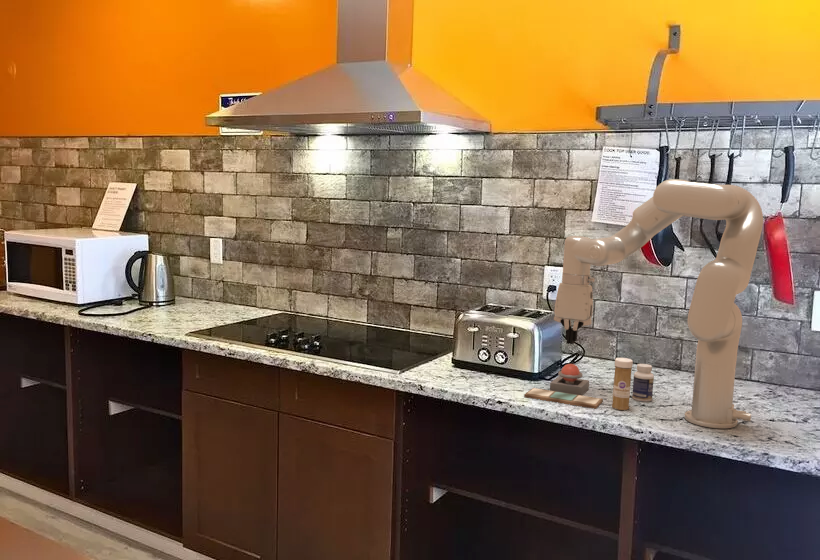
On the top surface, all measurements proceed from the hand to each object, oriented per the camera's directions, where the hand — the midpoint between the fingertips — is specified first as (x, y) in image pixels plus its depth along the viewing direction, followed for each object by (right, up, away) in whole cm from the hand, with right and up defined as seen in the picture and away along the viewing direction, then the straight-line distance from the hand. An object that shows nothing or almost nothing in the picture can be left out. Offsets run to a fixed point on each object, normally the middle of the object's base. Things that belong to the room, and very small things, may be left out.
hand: (570, 342), depth 217 cm
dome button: (0, -12, +1) cm, 12 cm away
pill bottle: (+19, -16, -5) cm, 25 cm away
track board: (-4, -15, -8) cm, 17 cm away
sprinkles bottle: (+10, -17, -14) cm, 24 cm away
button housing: (0, -14, +2) cm, 14 cm away
